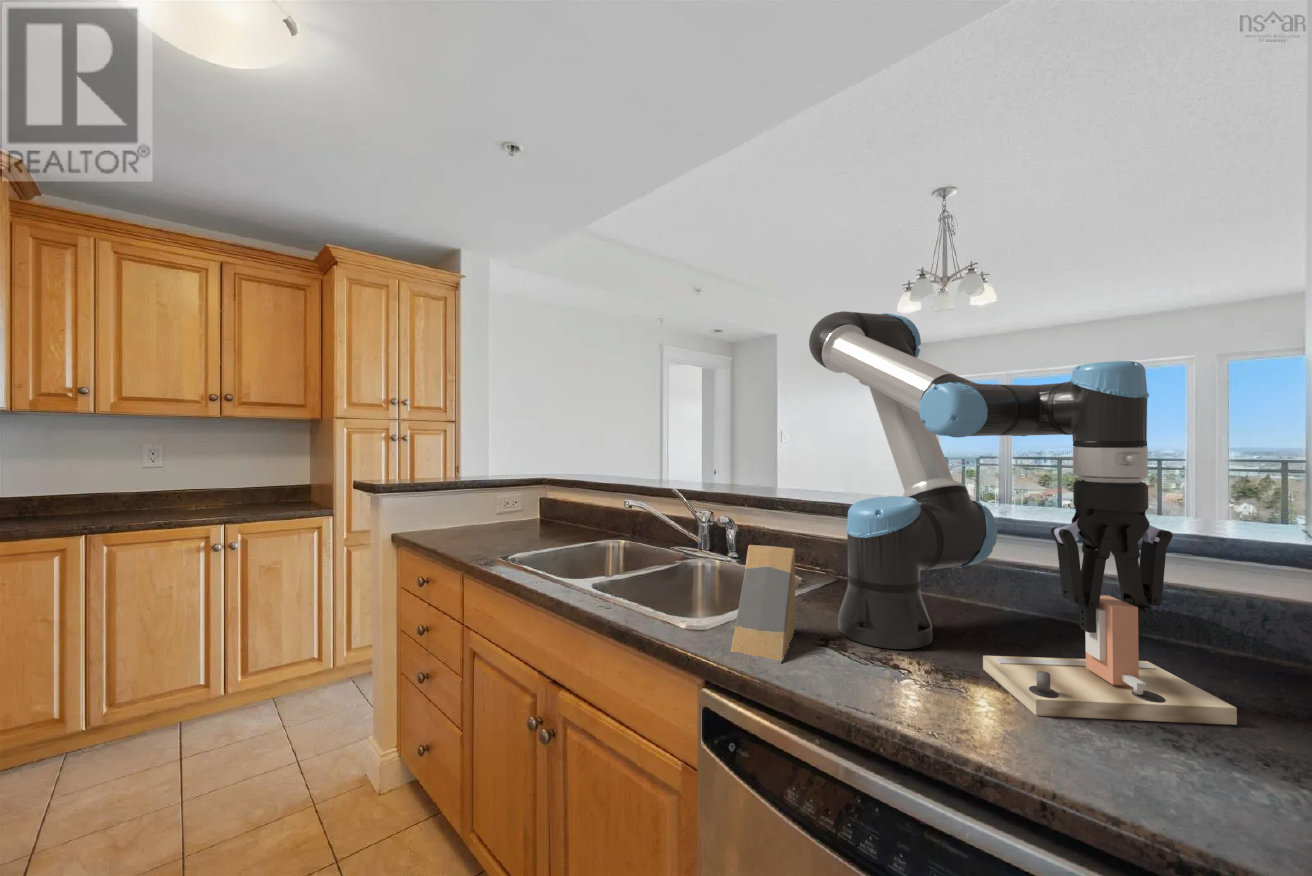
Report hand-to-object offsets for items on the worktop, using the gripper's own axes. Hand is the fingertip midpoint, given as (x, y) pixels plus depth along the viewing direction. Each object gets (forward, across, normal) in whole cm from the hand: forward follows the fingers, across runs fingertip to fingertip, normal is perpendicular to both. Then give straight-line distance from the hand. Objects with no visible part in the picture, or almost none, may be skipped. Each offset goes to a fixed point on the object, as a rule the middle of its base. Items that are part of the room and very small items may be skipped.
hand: (1111, 656), depth 70 cm
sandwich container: (+5, -44, +13) cm, 47 cm away
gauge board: (+5, -2, 0) cm, 5 cm away
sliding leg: (+3, 0, -1) cm, 3 cm away
